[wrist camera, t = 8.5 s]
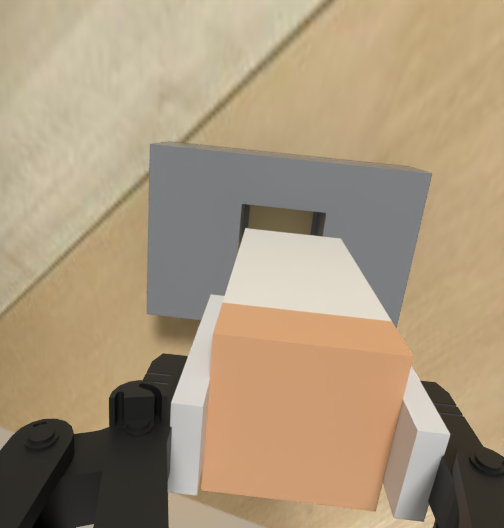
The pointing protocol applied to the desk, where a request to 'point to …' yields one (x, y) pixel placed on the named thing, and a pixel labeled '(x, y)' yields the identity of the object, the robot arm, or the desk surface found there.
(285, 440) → the plug
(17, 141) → the desk surface
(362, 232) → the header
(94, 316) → the desk surface
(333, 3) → the desk surface
